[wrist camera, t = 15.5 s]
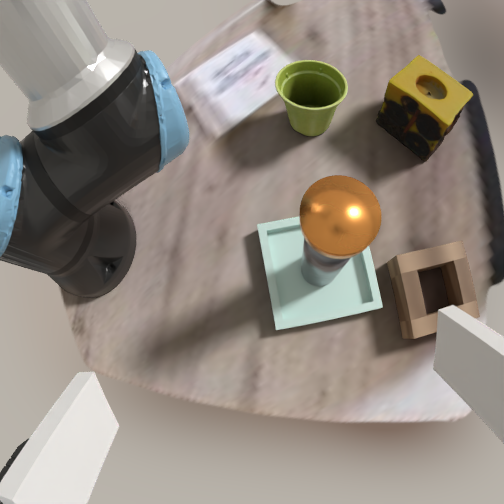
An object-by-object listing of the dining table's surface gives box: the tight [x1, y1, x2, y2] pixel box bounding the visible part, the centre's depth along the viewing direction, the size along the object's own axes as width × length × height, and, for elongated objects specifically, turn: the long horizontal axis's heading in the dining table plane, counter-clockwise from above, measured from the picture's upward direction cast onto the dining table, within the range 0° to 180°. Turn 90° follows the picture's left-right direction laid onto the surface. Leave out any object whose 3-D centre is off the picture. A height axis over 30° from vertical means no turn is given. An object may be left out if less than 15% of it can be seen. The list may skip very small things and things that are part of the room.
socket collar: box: [387, 241, 480, 339], centre depth 36 cm, size 10×10×4 cm
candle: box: [376, 55, 473, 161], centre depth 39 cm, size 10×10×10 cm
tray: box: [257, 216, 383, 330], centre depth 39 cm, size 13×13×2 cm
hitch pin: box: [300, 175, 381, 287], centre depth 30 cm, size 5×5×20 cm
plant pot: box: [275, 60, 348, 136], centre depth 41 cm, size 9×9×9 cm
